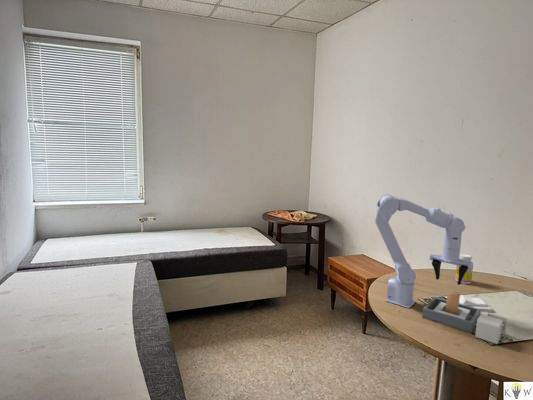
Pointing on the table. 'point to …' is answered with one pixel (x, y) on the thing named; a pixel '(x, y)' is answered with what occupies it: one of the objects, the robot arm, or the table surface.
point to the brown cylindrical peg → (452, 302)
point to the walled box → (451, 315)
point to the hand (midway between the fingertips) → (448, 281)
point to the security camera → (491, 327)
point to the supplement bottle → (468, 274)
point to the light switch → (475, 303)
